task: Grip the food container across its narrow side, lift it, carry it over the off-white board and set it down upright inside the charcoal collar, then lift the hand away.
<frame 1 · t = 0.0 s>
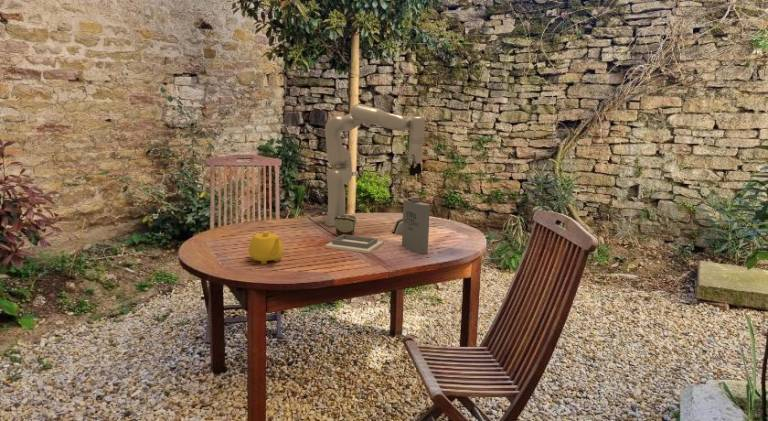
hand: (415, 174, 259), 31 cm above the table, tool pointing down, fingers open, 9 cm apart
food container: (347, 235, 257), on the table
grey upright block: (413, 249, 234), on the table
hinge: (407, 233, 266), on the table
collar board: (354, 245, 237), on the table
teapot: (267, 261, 211), on the table
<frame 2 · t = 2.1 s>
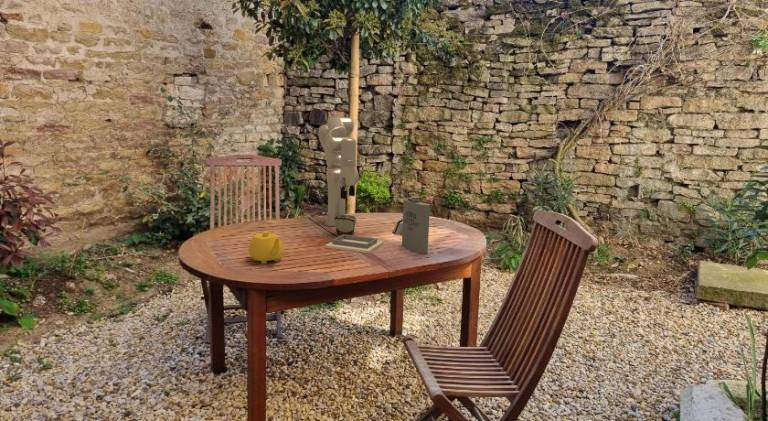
hand: (347, 197, 253), 20 cm above the table, tool pointing down, fingers open, 9 cm apart
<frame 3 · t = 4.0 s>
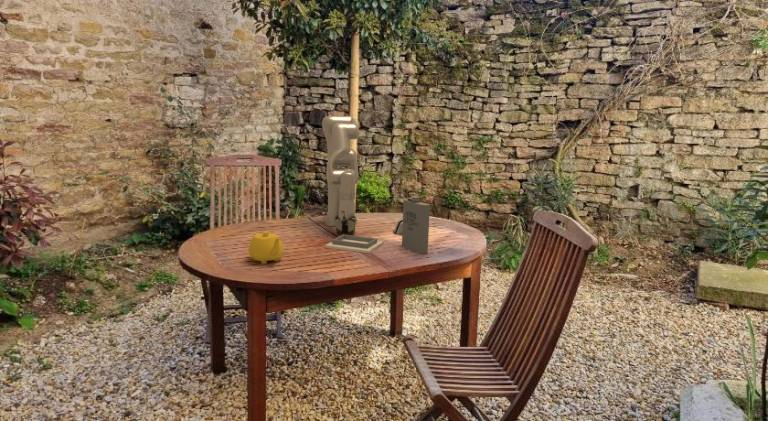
hand: (347, 231, 256), 2 cm above the table, tool pointing down, fingers closed on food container, 5 cm apart
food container: (347, 235, 257), on the table, touching gripper
everything else where it was.
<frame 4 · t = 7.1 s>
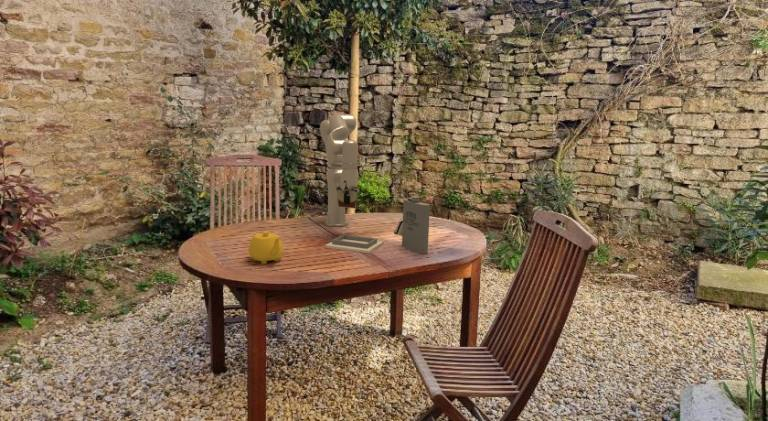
hand: (349, 202, 249), 18 cm above the table, tool pointing down, fingers closed on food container, 5 cm apart
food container: (349, 207, 250), point 15 cm above the table, touching gripper
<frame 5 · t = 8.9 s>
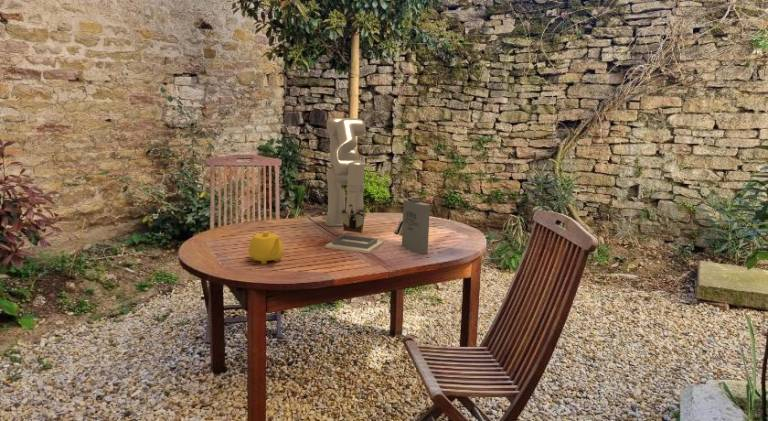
hand: (355, 226, 236), 9 cm above the table, tool pointing down, fingers closed on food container, 5 cm apart
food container: (355, 231, 237), point 7 cm above the table, touching gripper
when the fingers open (5 cm above the table, at t = 9.9 s): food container drops 2 cm, resting on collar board.
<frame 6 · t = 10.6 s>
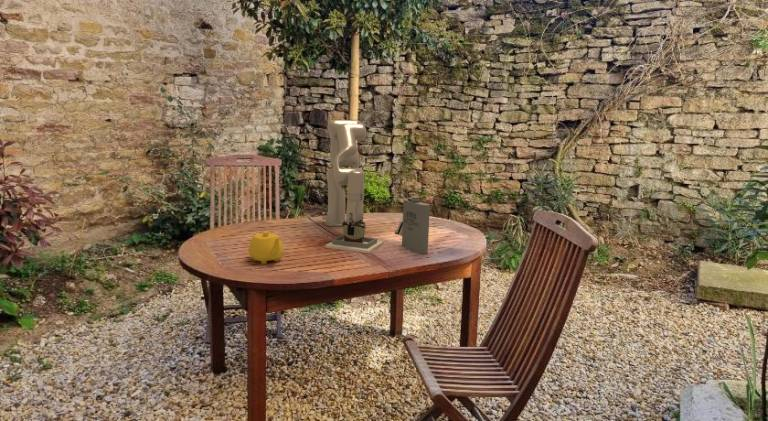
hand: (355, 232, 236), 6 cm above the table, tool pointing down, fingers open, 9 cm apart
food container: (355, 242, 239), point 1 cm above the table, touching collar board, gripper
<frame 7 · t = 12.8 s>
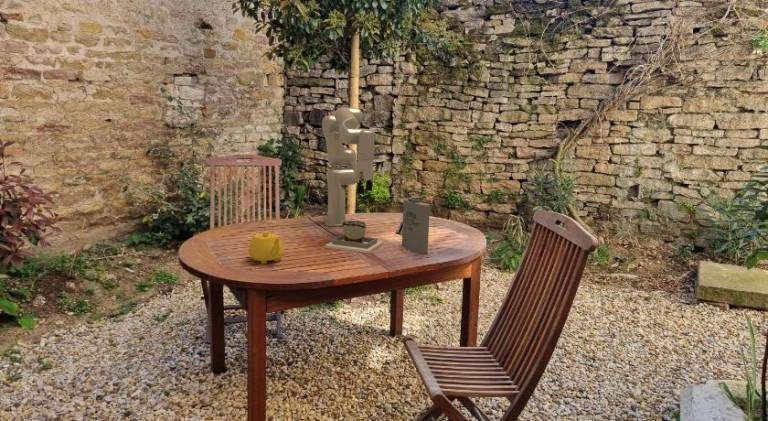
hand: (364, 192, 242), 24 cm above the table, tool pointing down, fingers open, 9 cm apart
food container: (355, 242, 239), point 1 cm above the table, touching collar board
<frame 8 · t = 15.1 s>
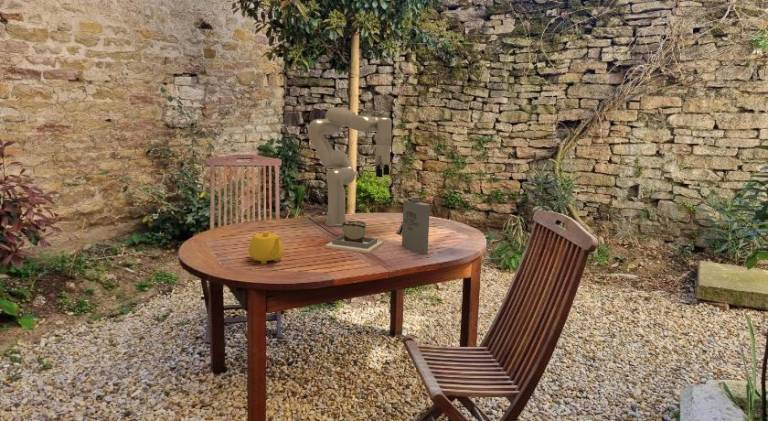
hand: (382, 175, 257), 30 cm above the table, tool pointing down, fingers open, 9 cm apart
at the end: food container 1.8 cm off-centre on the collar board, point 1.0 cm above the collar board's base; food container tilted 0°; the gripper is holding nothing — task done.
